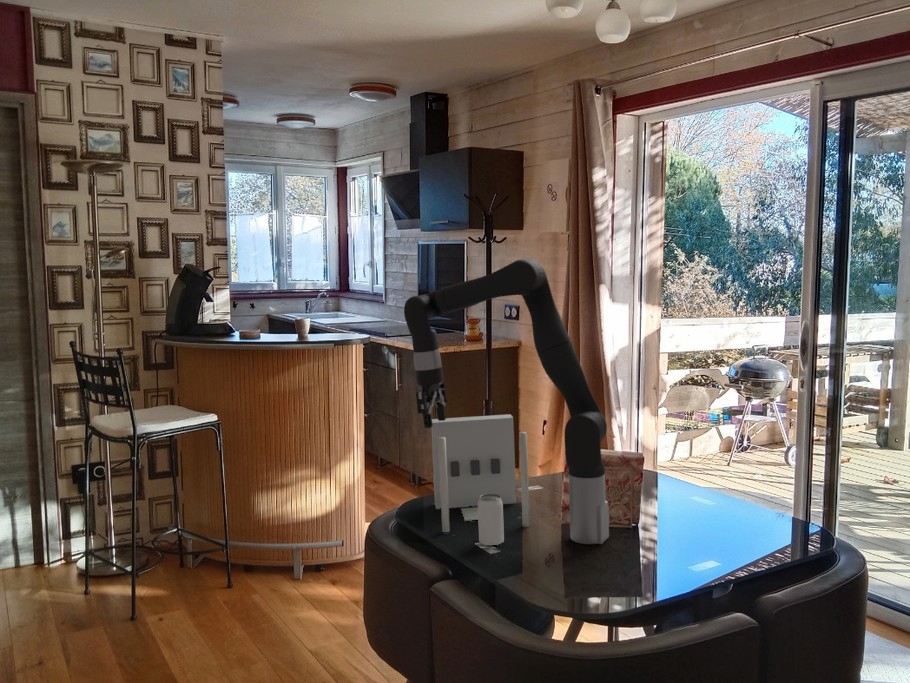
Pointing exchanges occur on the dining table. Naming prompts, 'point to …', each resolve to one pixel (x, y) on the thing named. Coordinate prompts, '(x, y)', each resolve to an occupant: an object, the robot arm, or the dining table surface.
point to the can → (490, 519)
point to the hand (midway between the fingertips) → (435, 423)
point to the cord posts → (445, 483)
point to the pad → (470, 513)
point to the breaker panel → (475, 459)
